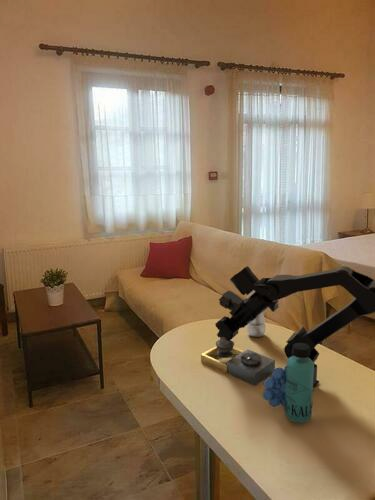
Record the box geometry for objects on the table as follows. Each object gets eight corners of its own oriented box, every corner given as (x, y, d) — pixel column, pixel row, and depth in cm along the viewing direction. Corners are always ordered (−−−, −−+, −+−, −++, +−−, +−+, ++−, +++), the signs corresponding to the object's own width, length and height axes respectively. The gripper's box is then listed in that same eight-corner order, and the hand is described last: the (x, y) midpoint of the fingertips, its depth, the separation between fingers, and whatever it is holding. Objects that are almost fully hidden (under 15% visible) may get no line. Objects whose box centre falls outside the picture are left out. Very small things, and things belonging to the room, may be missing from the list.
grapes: (299, 394, 106) (301, 354, 103) (310, 410, 99) (312, 367, 97) (257, 398, 105) (258, 357, 102) (265, 414, 98) (266, 371, 95)
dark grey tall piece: (212, 355, 123) (211, 319, 120) (221, 347, 128) (221, 313, 125) (228, 360, 120) (228, 323, 117) (237, 352, 124) (237, 316, 122)
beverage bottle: (290, 408, 100) (293, 336, 96) (316, 418, 96) (320, 343, 92) (279, 421, 96) (281, 346, 91) (305, 433, 91) (309, 355, 87)
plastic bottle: (266, 339, 138) (268, 285, 133) (247, 339, 138) (248, 285, 134) (263, 331, 144) (264, 279, 140) (245, 331, 145) (245, 279, 140)
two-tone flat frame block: (275, 371, 117) (275, 356, 116) (254, 386, 110) (254, 370, 109) (222, 349, 132) (222, 335, 130) (201, 361, 124) (200, 347, 123)
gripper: (248, 276, 124) (218, 303, 132) (220, 294, 109) (188, 324, 117) (272, 304, 121) (240, 330, 130) (247, 326, 106) (212, 354, 115)
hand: (221, 333), depth 123 cm, fingers closed on dark grey tall piece, 4 cm apart
